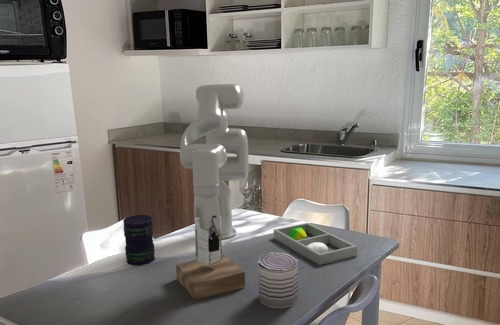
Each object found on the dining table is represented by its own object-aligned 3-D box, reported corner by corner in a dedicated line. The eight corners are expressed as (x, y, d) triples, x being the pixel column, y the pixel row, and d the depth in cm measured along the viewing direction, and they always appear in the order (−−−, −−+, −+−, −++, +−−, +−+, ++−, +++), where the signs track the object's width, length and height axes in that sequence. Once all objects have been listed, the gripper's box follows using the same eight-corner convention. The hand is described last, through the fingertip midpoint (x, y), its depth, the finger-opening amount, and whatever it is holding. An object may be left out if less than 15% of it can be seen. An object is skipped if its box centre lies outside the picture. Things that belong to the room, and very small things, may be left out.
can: (278, 286, 139) (278, 248, 136) (306, 299, 130) (306, 259, 128) (250, 298, 131) (249, 259, 129) (278, 313, 123) (277, 271, 121)
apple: (290, 222, 174) (309, 227, 168) (299, 229, 178) (317, 234, 172) (282, 239, 172) (300, 244, 166) (291, 246, 176) (309, 252, 170)
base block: (176, 279, 145) (176, 264, 144) (223, 268, 152) (222, 254, 151) (195, 300, 131) (194, 283, 130) (245, 287, 138) (244, 271, 137)
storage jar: (122, 266, 156) (119, 223, 153) (130, 254, 165) (127, 215, 162) (151, 265, 155) (148, 223, 152) (158, 254, 165) (155, 214, 162)
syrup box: (209, 256, 144) (207, 211, 141) (222, 260, 140) (221, 215, 138) (195, 261, 140) (193, 216, 137) (209, 266, 136) (207, 219, 133)
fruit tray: (273, 238, 179) (273, 229, 178) (307, 231, 186) (307, 222, 186) (319, 265, 153) (319, 255, 152) (357, 255, 160) (357, 246, 160)
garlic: (309, 258, 159) (309, 248, 158) (302, 251, 165) (302, 241, 165) (330, 255, 161) (330, 245, 160) (322, 249, 168) (322, 239, 167)
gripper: (184, 185, 142) (187, 240, 145) (206, 198, 127) (208, 259, 130) (206, 182, 145) (209, 235, 148) (230, 194, 130) (232, 253, 133)
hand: (208, 246), depth 139 cm, fingers closed on syrup box, 7 cm apart
